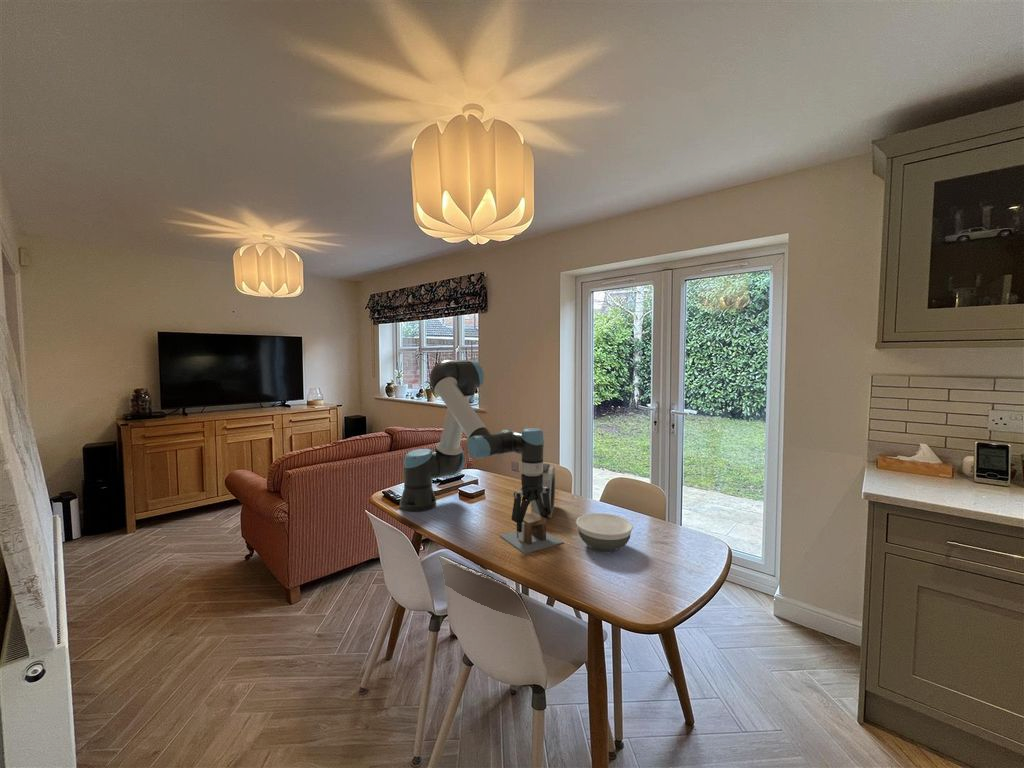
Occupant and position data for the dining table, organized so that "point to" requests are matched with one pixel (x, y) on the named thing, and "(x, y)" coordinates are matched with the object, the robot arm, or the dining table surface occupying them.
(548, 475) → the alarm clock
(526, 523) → the notched open box
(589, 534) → the bowl
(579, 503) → the dining table surface
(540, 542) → the mat
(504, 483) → the dining table surface
